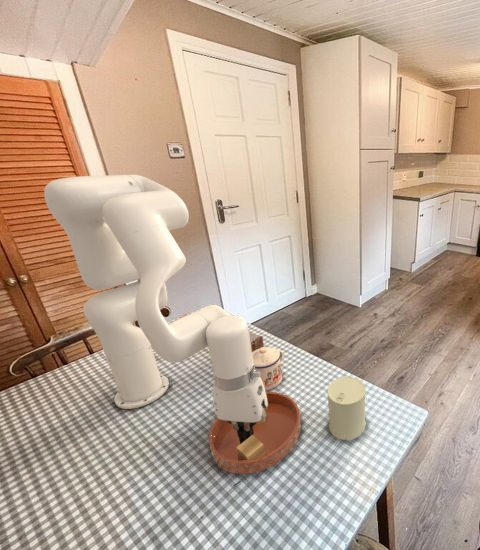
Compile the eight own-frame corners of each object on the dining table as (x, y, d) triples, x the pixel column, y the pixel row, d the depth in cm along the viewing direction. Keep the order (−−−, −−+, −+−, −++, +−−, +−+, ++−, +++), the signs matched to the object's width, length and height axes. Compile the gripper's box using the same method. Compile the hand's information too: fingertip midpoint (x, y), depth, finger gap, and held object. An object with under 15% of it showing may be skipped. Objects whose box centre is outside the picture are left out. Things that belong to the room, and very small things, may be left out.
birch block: (238, 460, 66) (236, 447, 65) (254, 447, 69) (252, 434, 68) (249, 471, 64) (247, 457, 63) (265, 457, 67) (263, 444, 66)
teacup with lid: (268, 396, 85) (264, 362, 81) (244, 386, 89) (238, 353, 84) (295, 370, 95) (292, 339, 91) (272, 362, 99) (268, 332, 94)
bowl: (201, 431, 74) (198, 419, 73) (278, 392, 86) (276, 381, 85) (229, 496, 60) (226, 483, 59) (316, 438, 72) (315, 426, 71)
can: (322, 434, 73) (319, 396, 69) (339, 407, 81) (337, 371, 77) (356, 447, 70) (356, 407, 66) (371, 417, 78) (371, 380, 74)
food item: (219, 359, 100) (213, 334, 96) (235, 346, 107) (231, 321, 104) (254, 367, 96) (250, 341, 93) (268, 353, 104) (265, 328, 100)
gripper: (277, 364, 65) (284, 427, 72) (210, 360, 66) (223, 422, 73) (263, 389, 58) (272, 456, 65) (189, 384, 59) (206, 450, 66)
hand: (246, 438), depth 69 cm, fingers closed
